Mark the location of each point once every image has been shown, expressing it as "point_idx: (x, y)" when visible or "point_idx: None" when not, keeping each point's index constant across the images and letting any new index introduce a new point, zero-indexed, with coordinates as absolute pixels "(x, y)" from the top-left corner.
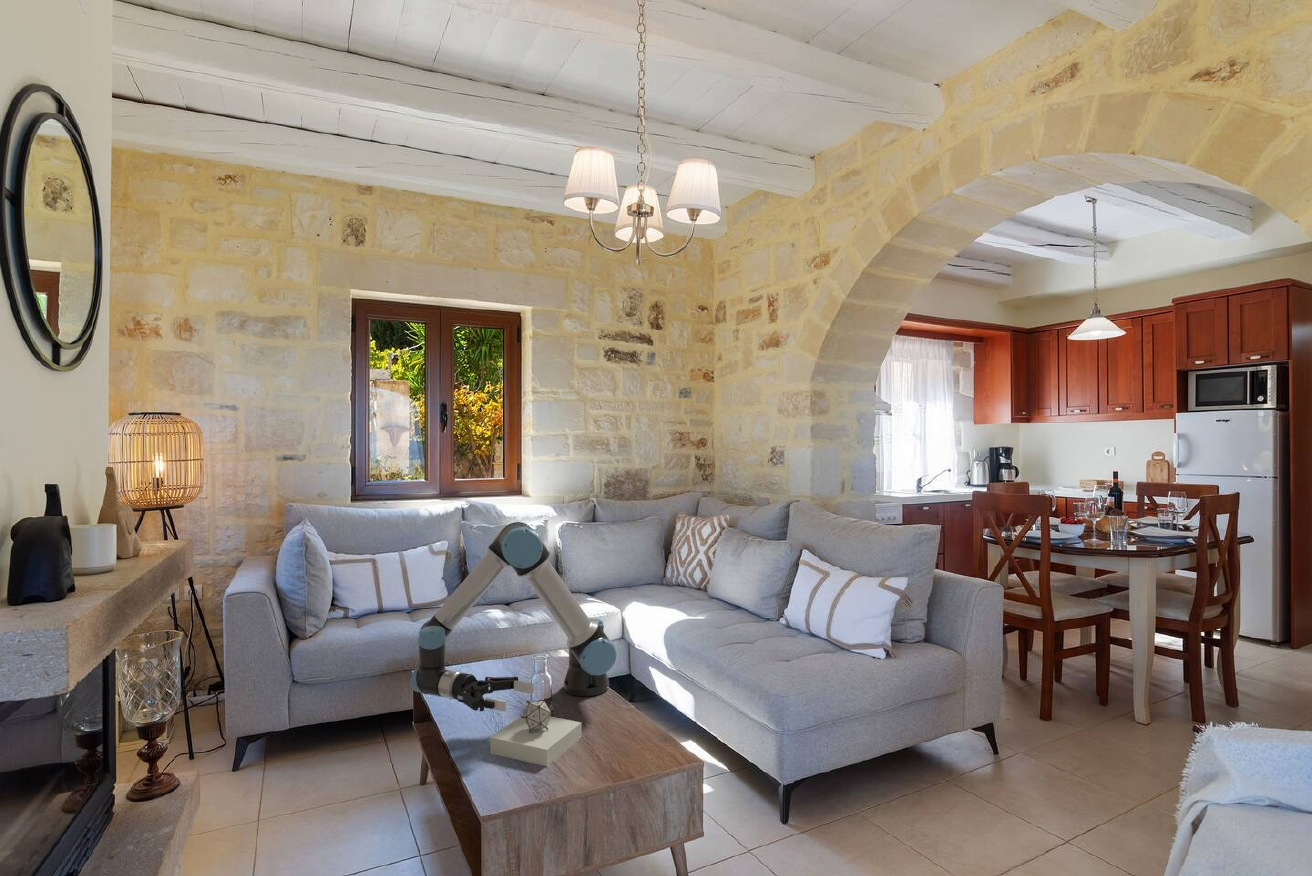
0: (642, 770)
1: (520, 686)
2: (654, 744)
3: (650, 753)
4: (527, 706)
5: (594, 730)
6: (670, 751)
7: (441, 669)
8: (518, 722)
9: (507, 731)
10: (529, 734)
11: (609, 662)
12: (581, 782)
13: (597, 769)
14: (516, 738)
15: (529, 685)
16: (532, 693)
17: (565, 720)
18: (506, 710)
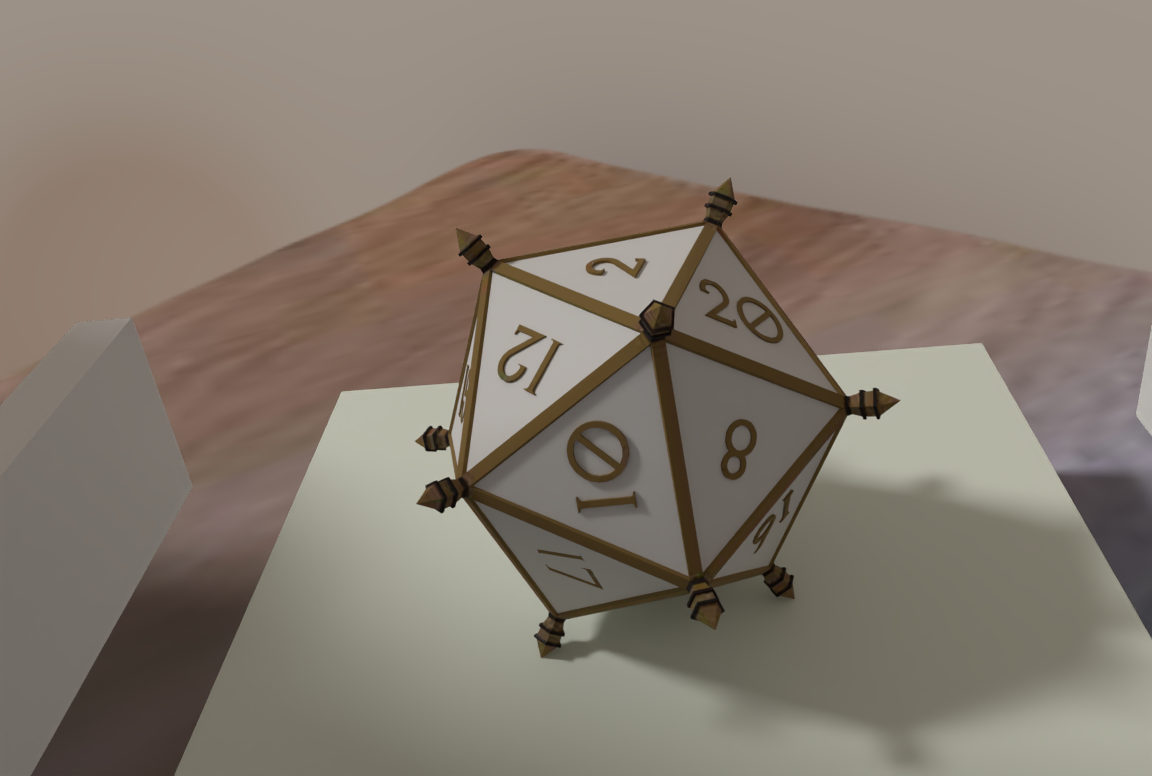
0: (670, 200)
1: (7, 614)
2: (366, 251)
3: (478, 232)
4: (673, 388)
5: (206, 504)
6: (427, 203)
7: None
8: None
9: None
10: (820, 579)
11: None
12: (977, 283)
13: (784, 292)
14: (1023, 629)
15: (103, 394)
16: (187, 486)
17: (322, 489)
18: (1147, 404)
